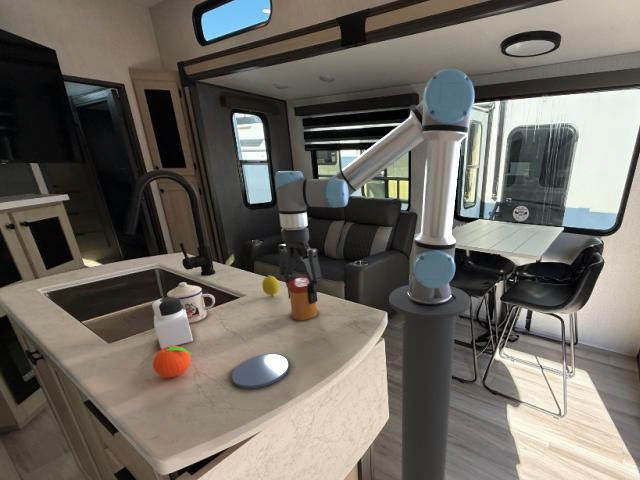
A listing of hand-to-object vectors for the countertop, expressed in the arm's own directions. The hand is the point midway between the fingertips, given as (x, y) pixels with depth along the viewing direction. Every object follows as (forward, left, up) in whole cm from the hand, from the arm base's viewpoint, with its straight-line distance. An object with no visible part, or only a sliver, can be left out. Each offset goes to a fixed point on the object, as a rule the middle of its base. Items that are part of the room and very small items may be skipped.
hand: (303, 299), depth 100 cm
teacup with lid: (+27, +20, -5) cm, 34 cm away
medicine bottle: (+17, +30, -5) cm, 35 cm away
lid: (0, 0, +5) cm, 5 cm away
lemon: (+22, -4, -5) cm, 23 cm away
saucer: (-15, +26, -5) cm, 30 cm away
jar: (0, 0, -5) cm, 5 cm away
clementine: (0, +37, -5) cm, 37 cm away
